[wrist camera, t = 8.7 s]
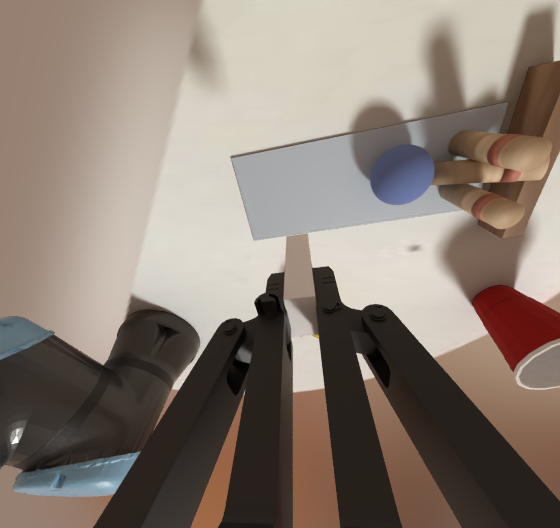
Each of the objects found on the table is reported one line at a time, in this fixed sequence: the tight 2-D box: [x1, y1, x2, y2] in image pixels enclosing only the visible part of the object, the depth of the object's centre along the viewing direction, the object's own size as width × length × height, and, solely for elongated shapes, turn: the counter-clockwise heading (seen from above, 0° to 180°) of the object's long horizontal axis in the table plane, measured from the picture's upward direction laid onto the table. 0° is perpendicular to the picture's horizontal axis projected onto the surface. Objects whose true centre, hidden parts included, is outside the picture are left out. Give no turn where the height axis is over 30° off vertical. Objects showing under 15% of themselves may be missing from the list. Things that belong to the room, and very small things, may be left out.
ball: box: [370, 144, 434, 205], centre depth 24 cm, size 6×6×6 cm
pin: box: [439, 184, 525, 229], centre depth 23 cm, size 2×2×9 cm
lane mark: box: [231, 102, 509, 240], centre depth 27 cm, size 29×11×1 cm, turn 101°
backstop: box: [479, 61, 560, 238], centre depth 23 cm, size 2×16×4 cm, turn 11°
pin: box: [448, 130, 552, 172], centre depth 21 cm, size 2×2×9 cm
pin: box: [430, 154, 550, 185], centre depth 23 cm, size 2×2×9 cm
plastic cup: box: [473, 285, 560, 390], centre depth 31 cm, size 11×11×12 cm
